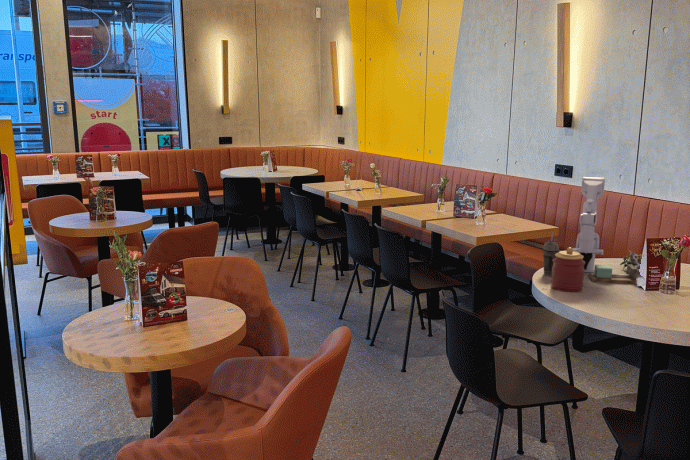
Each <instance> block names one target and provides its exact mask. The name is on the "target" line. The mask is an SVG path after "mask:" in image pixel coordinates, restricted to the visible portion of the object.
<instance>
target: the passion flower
mask: <svg viewBox="0 0 690 460" xmlns="http://www.w3.org/2000/svg"><path fill="white" fill-rule="evenodd" d="M628 253H629V257H628V255H625V256H623V257H622V260H623V261H622V262H621V263H620V264H619V266H622V265H623V268H622V271H624V269H625V268H627V264H631V265H633V266H634V267H636V268H637V274H639V269H640V264H641V259H642V255H643V254H641V253H640V254H638V253H636V252H632V251H631V250H628Z"/></svg>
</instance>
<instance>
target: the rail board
mask: <svg viewBox="0 0 690 460" xmlns="http://www.w3.org/2000/svg"><path fill="white" fill-rule="evenodd" d="M626 264H627V263H626ZM587 276H588V278H589V279H590V280H591V282H592V283H604V284H626V285H637V283H638V280H637V279H638V273H637V268H636V267H634V266H633V265H631V264H627V267H626V273H625V274H622V273H621V274H620V273H612V278H599V277H596V273H594V272H587Z"/></svg>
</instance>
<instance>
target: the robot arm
mask: <svg viewBox="0 0 690 460" xmlns="http://www.w3.org/2000/svg"><path fill="white" fill-rule="evenodd" d="M605 183H606V178H605V177H591V176H588V177H587V176H583V177H582V179H581V194H582V196H584V197H585V199H586V201H584V202H583V204H582V205H583V206H582V213H581V214H580V216H579V217H580V219H579V224H580V226H579V229H580V232H579V233H578V234H577V236H576V237H577V238H576V242H575V243H576V244H575V247H574V248H573V247H571V248H572V249H573V251H575V252H578V253H580V254H581V255H583V256H584V258H583V260H584V261H585V264H584V269H585V271H584V273H594V267H595V263H596V262H595V260H596V255H602V256H603V255H604V249H601V248H600V235H599V234H598V233H596V232H595V229H596V226H597V221H598V220H597V217H598V215H597V209H598V200H599V198H601V197H603V195H604V194H605V192H604V191H605V185H606V184H605ZM599 248H600V249H599Z"/></svg>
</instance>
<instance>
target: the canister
mask: <svg viewBox="0 0 690 460" xmlns="http://www.w3.org/2000/svg"><path fill="white" fill-rule="evenodd" d="M572 248H573V247H570V246H569V247H567V248H566V250H559V252H558V253H556V254H555V256H556V258H554V259H553V262H554V265H553V267H552V276H551V281H550V284H551V285H550V286H551V288H552V289H554V290H557V291H559V292H561V291H562V292H569V293H573V292H574V293H575V292H580V291H582V290H583V288H584V280H585V279H584V278H585V272H584V271H585V269H584V264H585V261H584V260H583V258H584V256H583V255H581V254H580V253H578V252H575V251H573V249H572Z"/></svg>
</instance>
